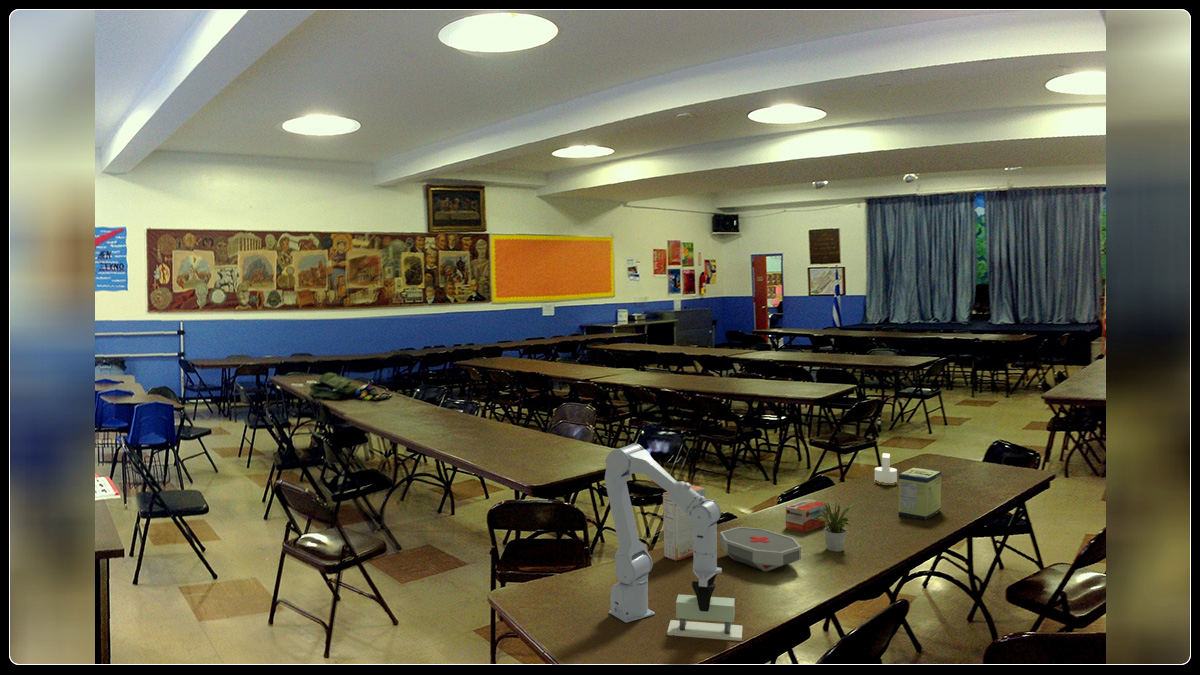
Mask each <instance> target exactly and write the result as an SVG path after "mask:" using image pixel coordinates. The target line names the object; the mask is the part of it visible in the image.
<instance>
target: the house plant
mask: <svg viewBox="0 0 1200 675" xmlns="http://www.w3.org/2000/svg"><path fill="white" fill-rule="evenodd" d="M812 502H813V501H812ZM823 502H824V501H823ZM816 503H817V502H816ZM824 503H825V504H824V505H825V507H826V509H825V508H823V507H822V506H821V505H820V504H819V505H820V506H821V507H822V508H823V510H824V511H826V512H827V513H828V515H827V516H828V518H827V516H826V514H827V513H826V514H825V513H824V512H823V511H822V510H820V511H822V512H823V514H824V515H825V516H826V518H827V520H828V521H827V520H826V519H825V518H824V517H822V516H820V517H818V518H820V519H823V521H824V522H825V521H826V522H825V525H824V526H825V527H824V529H823V532H824V538H825V544H826V549H827V550H828V551H831V552H837V553H838V552H843V551H845V550H844V548H845V543H846V538H847V532H848V530H847V529H846V528H845V526H848V527H849V528H851V523H849V521H850V518H849V517H845V515H846V514H847V513H848V512H849V511H850V510H851V511H852V510H854V509H850V508H851V507H853V506H854V505H855V503H853V504H850V505H848V506H847V507H846V508H845V509H844V510H843V511H842V513H841V515H840V512H841V507H842V506H843V504H840V503H839V498H838V499H837V500H836V503H835V505H834V512H833V513H832V510H831V506H830V504H829V502H826V501H825V502H824ZM826 503H827V504H828V506H827V504H826ZM839 516H840V517H839Z"/></svg>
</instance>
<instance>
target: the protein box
mask: <svg viewBox="0 0 1200 675" xmlns="http://www.w3.org/2000/svg"><path fill="white" fill-rule="evenodd" d="M941 507H942V471H941V470H935V469H927V468H921V467H915V466H914V467H912V468H910V469H907V470H905V471H903V472H901V473H899V474H898V514H897V515H898V516H899V515H904V516H909V517H908V518H910V517H915V518H914V519H916V518H921V519H928V518H929V517H930V516H932V515H934V514H935V513H936V512H938V511H939V510H940V509H942V508H941ZM904 516H903V517H904ZM934 516H935V515H934ZM921 519H920V520H921ZM929 519H930V518H929ZM929 519H928V520H929Z"/></svg>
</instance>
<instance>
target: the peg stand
mask: <svg viewBox="0 0 1200 675" xmlns="http://www.w3.org/2000/svg"><path fill="white" fill-rule="evenodd" d="M743 628H744V627H743V625H739V624H732V622H724V623H716V622H715V623H714V622H713V623H712V622H702V621H700V622H699V621H687V619H682V618H679V620H675V619H670V622H669V625H668V628H667V630H666V631H667V632H666V634H667V636H673V635H674V637H675V636H676V637H677V636H678V637H689V638H701V639H713V640H726V641H735V642H737V641H738V642H742V641H743V640H742V639H743Z"/></svg>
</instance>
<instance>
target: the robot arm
mask: <svg viewBox="0 0 1200 675" xmlns="http://www.w3.org/2000/svg"><path fill="white" fill-rule="evenodd" d="M604 462H605V465H606V467H605V472H604V474H605V475H604V484H605V487H606V494H607V497H608V502H609V506H610V510H611V514H612V520H613V524H614V525H613V526H614V530H615V533H616V537H617V538H616V539H617V543H618V547H617V550H616V552H615V554H614V559H615V565H614V573H615V576H616V578H617V579H618V582H617V583H615V584H612V585H611V588H610V610H609V611H608V614H611V615H612V616H613V617H615V618H617V619H618V620H621V621H622V622H624V623H630V622H633V621H637V620H641V619H644V618H646V617H651V616H653V615H655V614H656V612H655V611H653V610H651V609H649V590H648V588H649V586H648V585H649V584H648V583H649V580H648V579H649V573H650V572H651V570H652V568H653V565H654V563H653V559H652V556H651V555H650V554H649V552H648V550H647V546H646V544H645V543H644V542H641V541H640V537H639V533H638V529H637V525H636V524H637V522H636V520H635V519H636V518H635V515H634V510H633V506H632V505H633V504H632V501H631V497H630V493H629V488H628V487H629V486H628V484H627V482H628V480H629V479H630V477H631V476H632V474H643V475H645V476H646V477H648V479H650V480H651V481H653V482H654V483H655V484H657V485H658V486H660V488H662V489H663V490H664V491H665V492H668V495H669V499H670V500H671V501H672V502H673V503H675V504H676V505H677V506H678V507H679V508H680V509H682V510H683V511H684V512H685V513H686V514H687V515H689V520H690V522H691V524H692V525H693V535H694V555H693V567H692V573H693V574H694V575H695V576H696V578H697V579H698V580H697V581H694V580H693V581H692V582H691V586H692V589H693V591H694V593H695V596H696V597H697V601H698V606H699V610H700V611H705V612H708V610H709V606H710V600H711V597H712V595H713V593H714V591H715V588H716V583H715V579H716V577H717V575H718V574H721V573H722V571H723V568H722V567H718V561H717V560H718V526H717V525H718V523H717V522H718V521H719V519H720V517H721V514H722V512H721V508H720V505H718V503H717V502H716V501H715V500H713V499H711V498H710V499H709V498H708V499H707V498H706V496H705V497H704V496H701V495H700V494H698V493H697V492H696V491H695V490H693V489H692V488H691V486H692V484H691V483H689V482H685V481H684V480H682V481H681V480H680V481H677V480H676V479H675V478H674V477H673V476H671V474H669V473H668V472H667V471H666V470H665V469H664V468H663V467H662V466H661V464H660V463H658V462H657V461H656V460H654V458H653V457H652V456H651V454H650V451H649V450H647V449H645V448H644V447H643V446H642V445H640V444H639V443H634V442H633V443H631V444H629V445H627V446H623V447H620V448H615V449H613V450H611V451H610V452H609V454H608V455H607V456H606V457H605V459H604Z"/></svg>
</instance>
